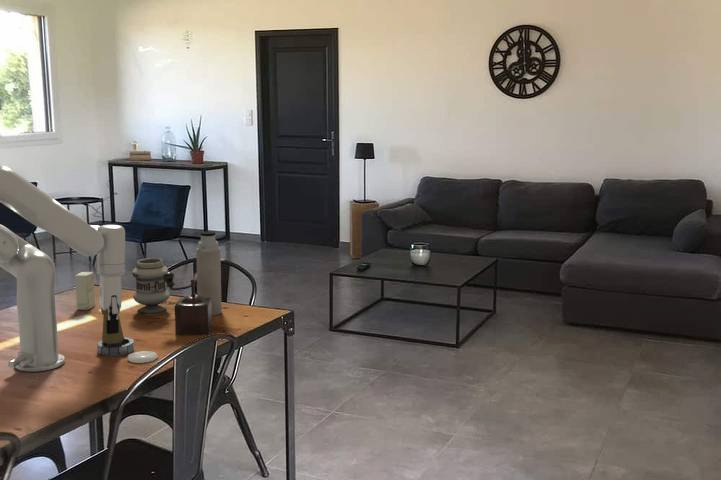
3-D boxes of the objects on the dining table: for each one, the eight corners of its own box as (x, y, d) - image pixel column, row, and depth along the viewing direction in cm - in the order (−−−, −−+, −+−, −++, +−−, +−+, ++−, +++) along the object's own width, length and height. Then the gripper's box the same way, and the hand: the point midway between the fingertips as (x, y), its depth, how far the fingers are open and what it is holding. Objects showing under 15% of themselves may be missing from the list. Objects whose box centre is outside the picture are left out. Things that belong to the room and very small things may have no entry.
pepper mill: (213, 324, 245) (212, 270, 242) (208, 335, 234) (207, 278, 231) (165, 324, 244) (163, 270, 241) (157, 335, 234) (155, 278, 230)
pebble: (146, 364, 207) (146, 361, 207) (121, 361, 210) (121, 358, 210) (162, 355, 215) (162, 353, 215) (138, 352, 217) (138, 349, 217)
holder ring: (120, 357, 212) (119, 349, 212) (90, 353, 215) (90, 345, 215) (140, 347, 222) (140, 339, 221) (112, 343, 225) (112, 335, 224)
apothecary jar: (126, 313, 256) (123, 261, 253) (148, 305, 267) (147, 255, 264) (155, 318, 252) (153, 265, 248) (177, 309, 262) (175, 258, 259)
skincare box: (89, 310, 260) (87, 275, 258) (76, 309, 260) (74, 275, 258) (95, 305, 266) (94, 271, 264) (83, 305, 266) (81, 271, 264)
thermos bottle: (209, 308, 264) (207, 229, 259) (226, 311, 260) (225, 231, 255) (193, 313, 258) (190, 232, 253) (210, 317, 254) (208, 235, 249)
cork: (106, 344, 213) (103, 307, 211) (99, 339, 218) (96, 302, 216) (127, 340, 217) (124, 303, 215) (119, 335, 222) (116, 299, 220)
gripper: (93, 263, 220) (93, 324, 222) (101, 275, 205) (101, 340, 208) (120, 262, 223) (120, 322, 226) (130, 273, 208) (129, 338, 211)
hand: (111, 330), depth 217 cm, fingers closed on cork, 4 cm apart
